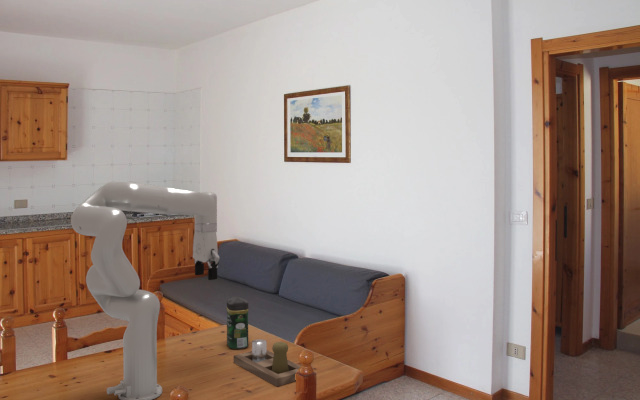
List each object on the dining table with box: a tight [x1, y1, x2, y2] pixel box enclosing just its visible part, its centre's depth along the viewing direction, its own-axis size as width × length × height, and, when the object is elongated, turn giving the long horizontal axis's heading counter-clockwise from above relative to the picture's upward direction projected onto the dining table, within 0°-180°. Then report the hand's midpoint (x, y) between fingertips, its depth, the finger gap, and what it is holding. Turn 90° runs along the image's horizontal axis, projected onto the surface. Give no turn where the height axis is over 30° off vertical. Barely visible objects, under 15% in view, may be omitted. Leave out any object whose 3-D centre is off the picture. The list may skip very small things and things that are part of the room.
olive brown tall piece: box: [272, 341, 289, 374], centre depth 180 cm, size 6×6×11 cm
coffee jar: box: [226, 296, 249, 350], centre depth 209 cm, size 10×8×19 cm
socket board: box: [233, 349, 301, 387], centre depth 186 cm, size 13×27×2 cm, turn 39°
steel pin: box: [251, 338, 268, 362], centre depth 190 cm, size 5×5×8 cm
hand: (205, 277), depth 190 cm, fingers open, 9 cm apart
